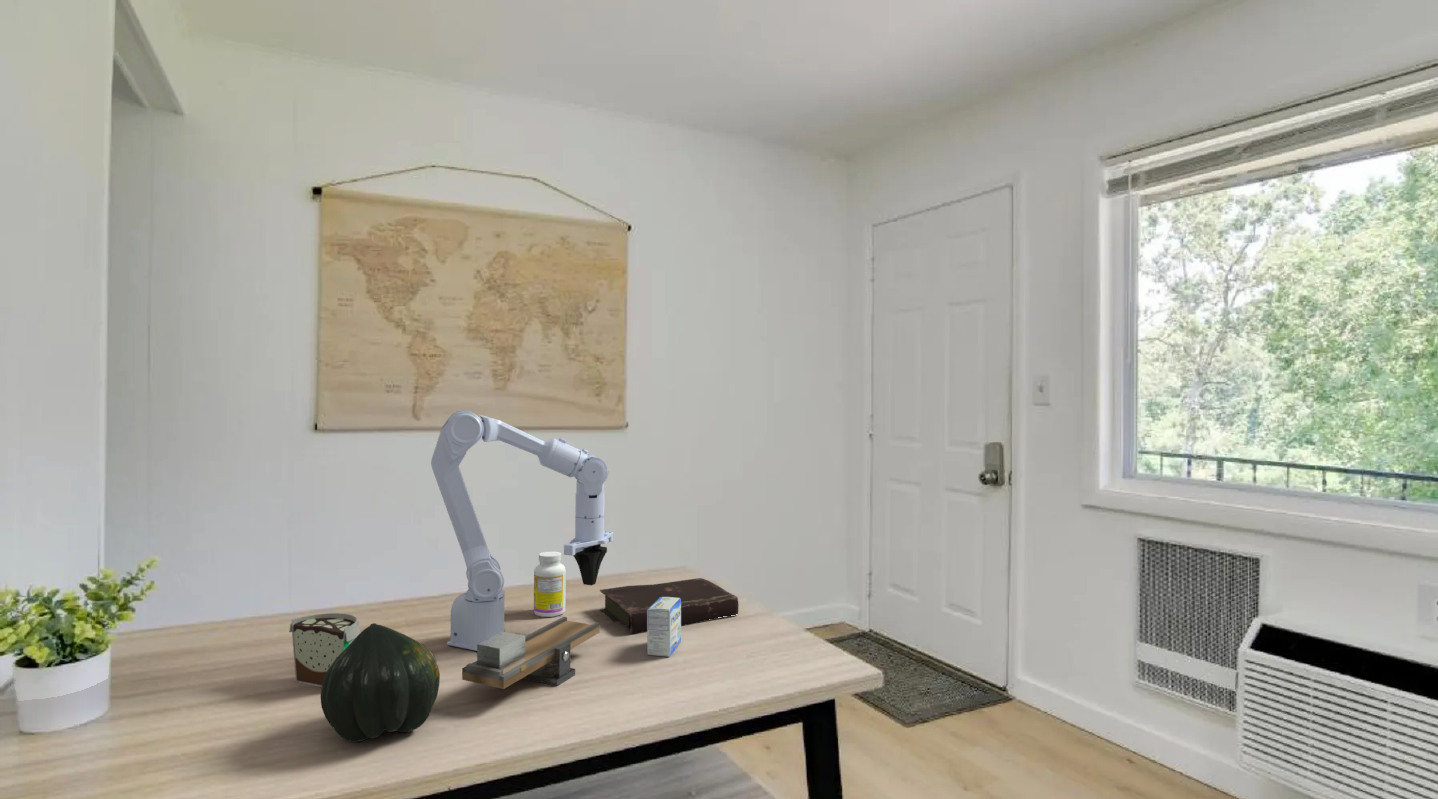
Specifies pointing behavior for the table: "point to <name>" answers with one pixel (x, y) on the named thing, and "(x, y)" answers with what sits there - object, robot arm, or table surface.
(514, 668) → the beam
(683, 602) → the diary
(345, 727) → the squash
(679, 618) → the medicine box
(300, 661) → the food container
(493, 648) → the block
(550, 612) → the supplement bottle
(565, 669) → the stand
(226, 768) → the table surface
